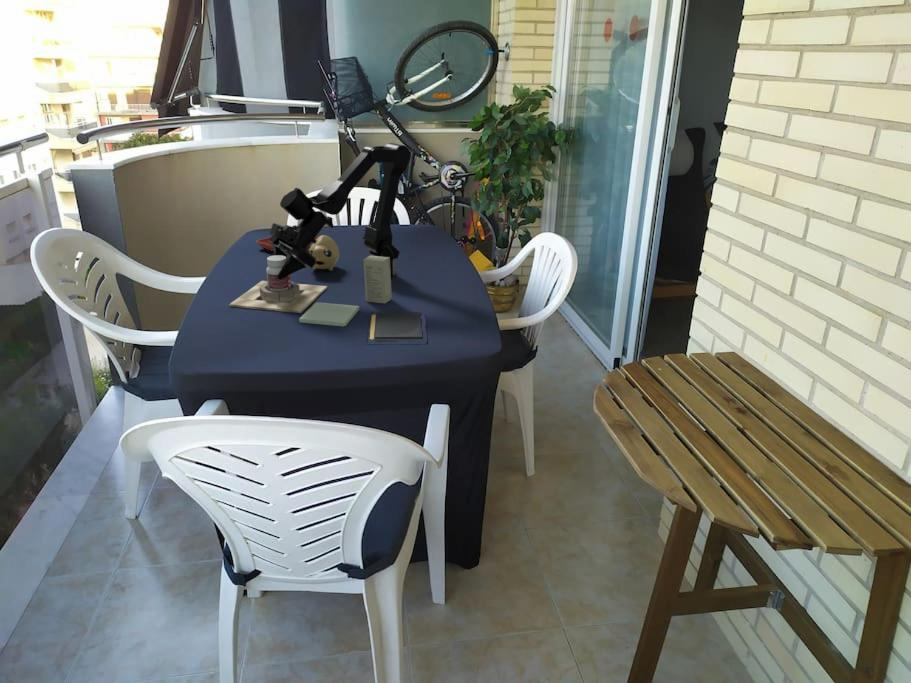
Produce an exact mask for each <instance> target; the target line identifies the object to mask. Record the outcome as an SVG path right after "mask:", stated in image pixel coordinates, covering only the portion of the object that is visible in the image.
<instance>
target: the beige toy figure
mask: <svg viewBox="0 0 911 683" xmlns="http://www.w3.org/2000/svg"><path fill="white" fill-rule="evenodd" d="M317 237H318V238H317V239H316V241H317V242H316V243H315V244H314V243H313V244H312V246H311V247H310V249H309V250H308V252H309V253H310V254H311V255H312V256H313V257H315V258H316V264H315V265H314V267H313V268H312V270H317V269H319V270H329V271H333V269H334V266H335V264H337V263H338V260H339V258H340V250H339V247H338V244H337V243H336V242H335V241H334V239H332V238H331V237H330V236H328V235H326V234H322V235H319V236H317Z"/></svg>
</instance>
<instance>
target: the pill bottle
mask: <svg viewBox="0 0 911 683" xmlns="http://www.w3.org/2000/svg"><path fill="white" fill-rule="evenodd" d="M266 261H267V262H266V264H267V267H266V269H265V270H266V279H267V280H266V281H267V282H268V291H276V292H281V291H286V290H291V281H292V280H291V274H290V275H288V276H286V277H284V278H282V279H278V278H277V276H278V274H279V272H280V271H281V269H282V267H283V266H284V264H285V262H286V261H287V259H286V257H285V256H282V255H274V256H273V255H270V256H268V257H267V258H266Z"/></svg>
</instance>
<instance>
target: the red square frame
mask: <svg viewBox="0 0 911 683" xmlns="http://www.w3.org/2000/svg"><path fill="white" fill-rule="evenodd" d="M271 237H272V236H269V237H265V238H261V239H257V240H255V242H256V243H257V245H259V247H261V248H263V249H264V248H265V249H268V250H267V251H269V250H272V251H273V246H272V244H273V243H272V242H270V241H269V239H270V238H271ZM318 237H319V236H317V237H316V238H315V240H316V239H317V238H318ZM311 246H312V245H310V246H309V247H308V249H307V250H306V251H307V252H308V250H309V249H310V247H311ZM265 249H264V250H265ZM272 251H271V252H272ZM291 255H293V254H292V253H291Z"/></svg>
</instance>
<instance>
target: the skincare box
mask: <svg viewBox="0 0 911 683" xmlns="http://www.w3.org/2000/svg"><path fill="white" fill-rule="evenodd" d="M362 263H363V272H364V274H363V275H364V276H363V278H364V293H365V294H364V295H365V301H366V302H368V303H377V304H387V303H388V302H389V301H391V300H392V298H393V297H392V279H391V272H390V257H381V256H374V255H372V254H370V255H368V256H367V257H365V258H363V261H362Z"/></svg>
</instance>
